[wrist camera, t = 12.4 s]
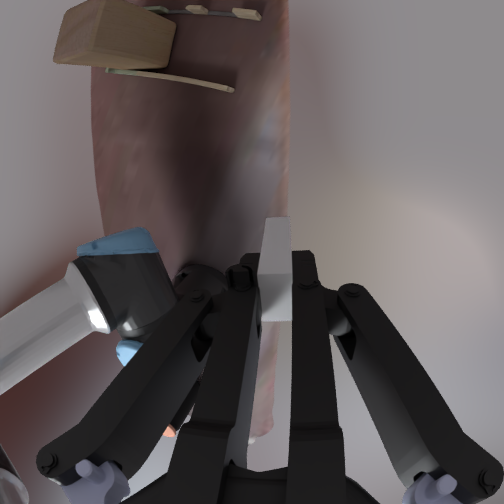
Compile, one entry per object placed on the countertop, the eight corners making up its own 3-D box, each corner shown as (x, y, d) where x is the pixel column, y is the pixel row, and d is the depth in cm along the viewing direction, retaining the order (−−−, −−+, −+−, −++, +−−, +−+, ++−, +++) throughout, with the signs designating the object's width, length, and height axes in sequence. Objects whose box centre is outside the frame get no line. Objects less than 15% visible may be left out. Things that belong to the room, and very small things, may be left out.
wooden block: (139, 29, 37) (63, 9, 20) (179, 22, 35) (103, -10, 18) (129, 71, 42) (49, 64, 24) (169, 68, 40) (86, 52, 22)
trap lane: (233, 93, 39) (221, 89, 35) (121, 74, 42) (105, 72, 38) (261, 17, 32) (252, 5, 28) (143, 11, 35) (128, 5, 31)
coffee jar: (168, 364, 73) (136, 408, 57) (201, 376, 70) (171, 425, 55) (173, 385, 78) (145, 426, 62) (203, 397, 75) (177, 441, 59)
